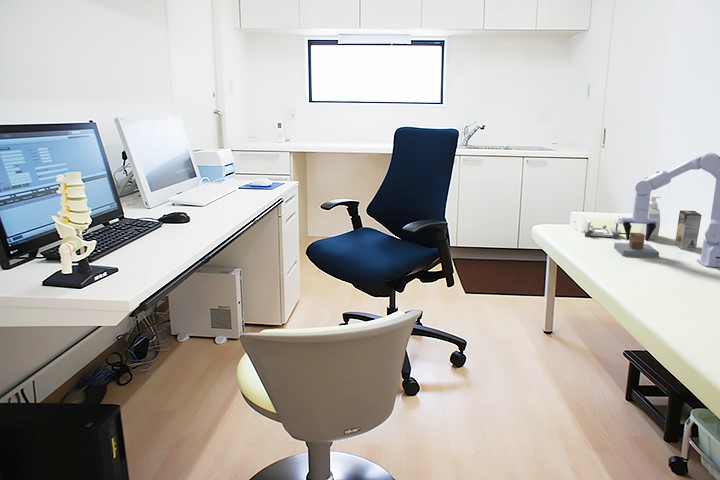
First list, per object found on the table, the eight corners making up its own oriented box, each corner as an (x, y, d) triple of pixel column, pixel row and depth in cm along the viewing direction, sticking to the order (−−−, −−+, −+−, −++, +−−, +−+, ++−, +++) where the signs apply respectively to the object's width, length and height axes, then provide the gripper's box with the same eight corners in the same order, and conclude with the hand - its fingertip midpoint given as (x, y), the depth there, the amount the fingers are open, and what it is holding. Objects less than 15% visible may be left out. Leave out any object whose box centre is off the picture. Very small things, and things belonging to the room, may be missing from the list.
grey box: (658, 259, 235) (659, 252, 234) (622, 257, 237) (623, 250, 237) (647, 250, 248) (648, 244, 248) (613, 249, 251) (614, 242, 250)
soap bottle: (658, 241, 264) (664, 199, 259) (646, 240, 265) (651, 198, 260) (651, 234, 279) (656, 194, 274) (639, 233, 280) (644, 193, 275)
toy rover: (623, 215, 276) (627, 219, 265) (621, 234, 278) (625, 240, 267) (584, 213, 280) (586, 217, 269) (582, 232, 283) (584, 237, 272)
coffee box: (674, 244, 258) (679, 210, 254) (689, 245, 257) (694, 210, 253) (680, 249, 249) (686, 213, 245) (696, 250, 248) (702, 214, 244)
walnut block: (643, 248, 240) (644, 235, 238) (631, 248, 240) (633, 234, 239) (639, 246, 244) (641, 232, 243) (628, 245, 245) (630, 232, 243)
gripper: (656, 207, 241) (652, 238, 244) (620, 206, 243) (616, 237, 246) (662, 210, 234) (657, 242, 237) (624, 209, 236) (621, 240, 240)
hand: (637, 240), depth 241 cm, fingers open, 7 cm apart
